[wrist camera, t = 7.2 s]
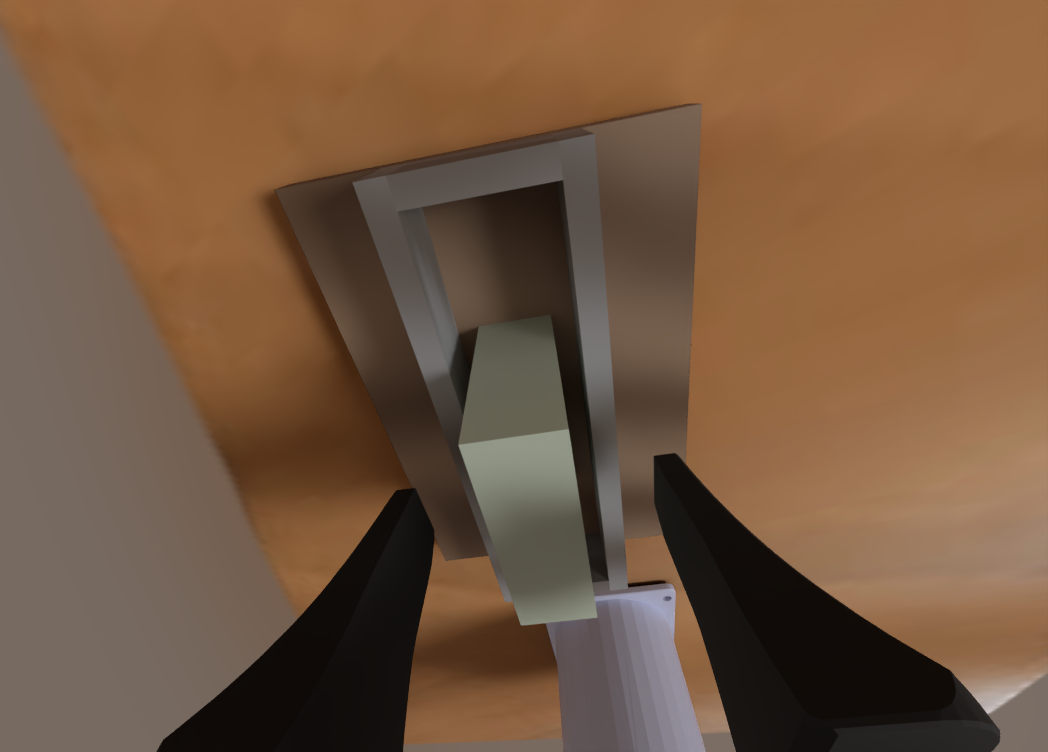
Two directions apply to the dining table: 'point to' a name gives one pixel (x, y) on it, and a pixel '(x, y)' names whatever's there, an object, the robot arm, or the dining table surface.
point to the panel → (527, 470)
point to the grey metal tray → (523, 304)
